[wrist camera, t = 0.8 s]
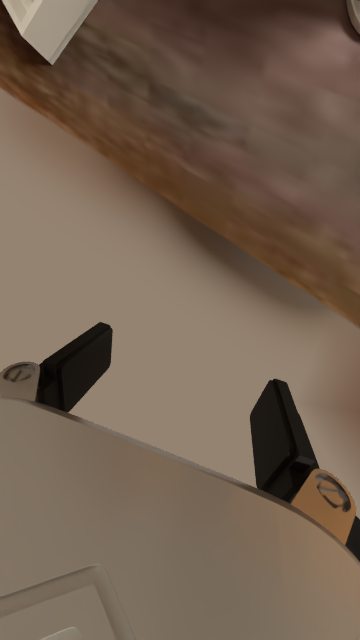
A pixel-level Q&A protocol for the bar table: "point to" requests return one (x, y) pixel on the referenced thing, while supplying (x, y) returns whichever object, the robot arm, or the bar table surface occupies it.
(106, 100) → the bar table surface
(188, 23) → the bar table surface
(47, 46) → the walled box
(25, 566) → the robot arm
